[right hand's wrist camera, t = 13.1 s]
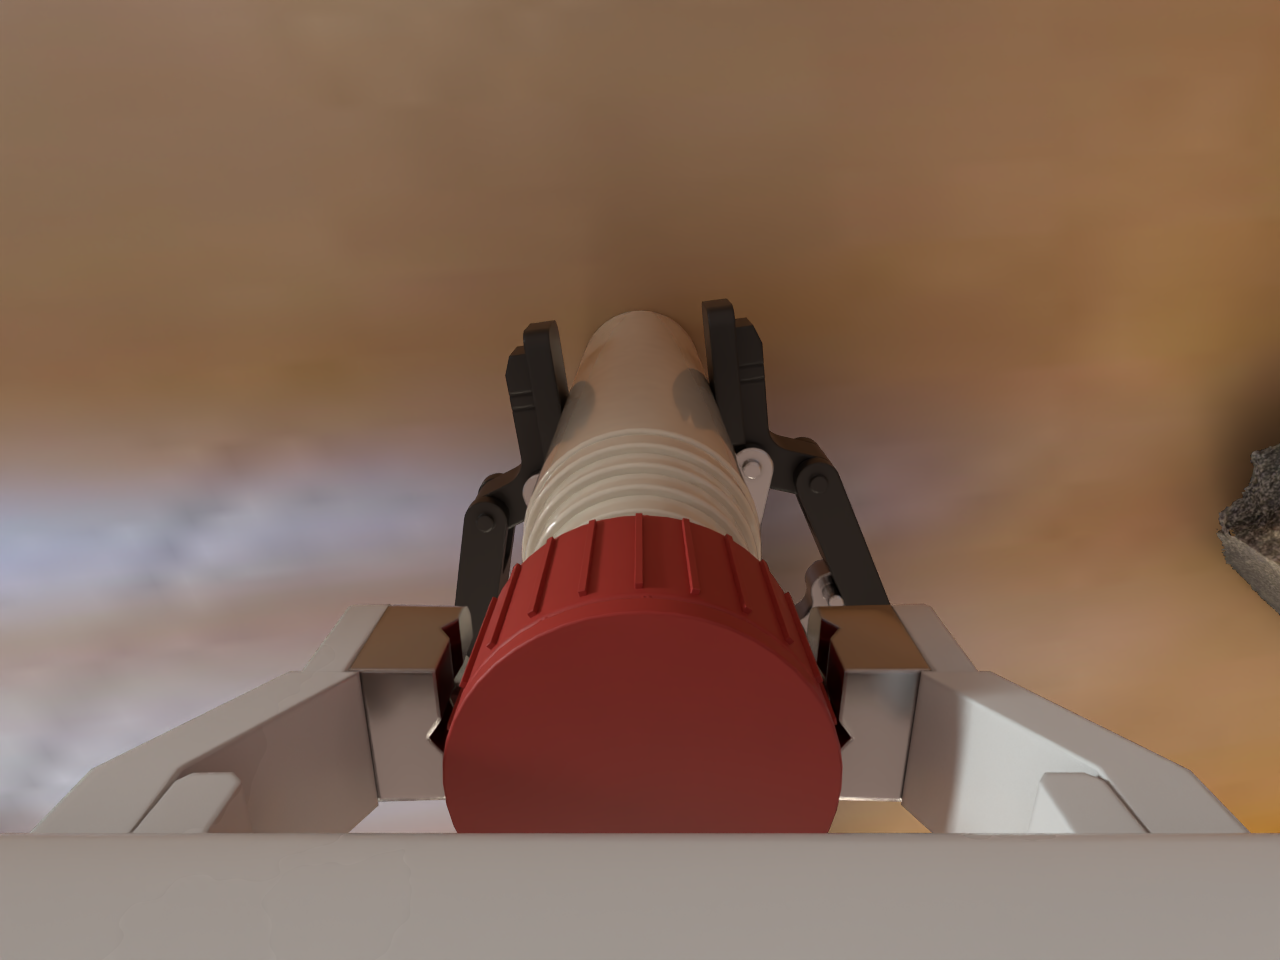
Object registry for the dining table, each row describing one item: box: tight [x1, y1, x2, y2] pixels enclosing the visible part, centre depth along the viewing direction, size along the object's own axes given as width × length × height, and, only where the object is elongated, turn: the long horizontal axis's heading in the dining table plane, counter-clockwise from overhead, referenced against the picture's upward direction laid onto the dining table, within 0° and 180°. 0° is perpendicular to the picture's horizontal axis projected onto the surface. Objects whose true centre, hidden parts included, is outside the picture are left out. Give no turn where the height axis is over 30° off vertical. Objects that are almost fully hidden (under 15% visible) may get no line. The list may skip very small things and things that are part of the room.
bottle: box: [522, 311, 761, 563], centre depth 18 cm, size 4×4×20 cm
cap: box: [443, 513, 843, 833], centre depth 9 cm, size 4×4×2 cm
